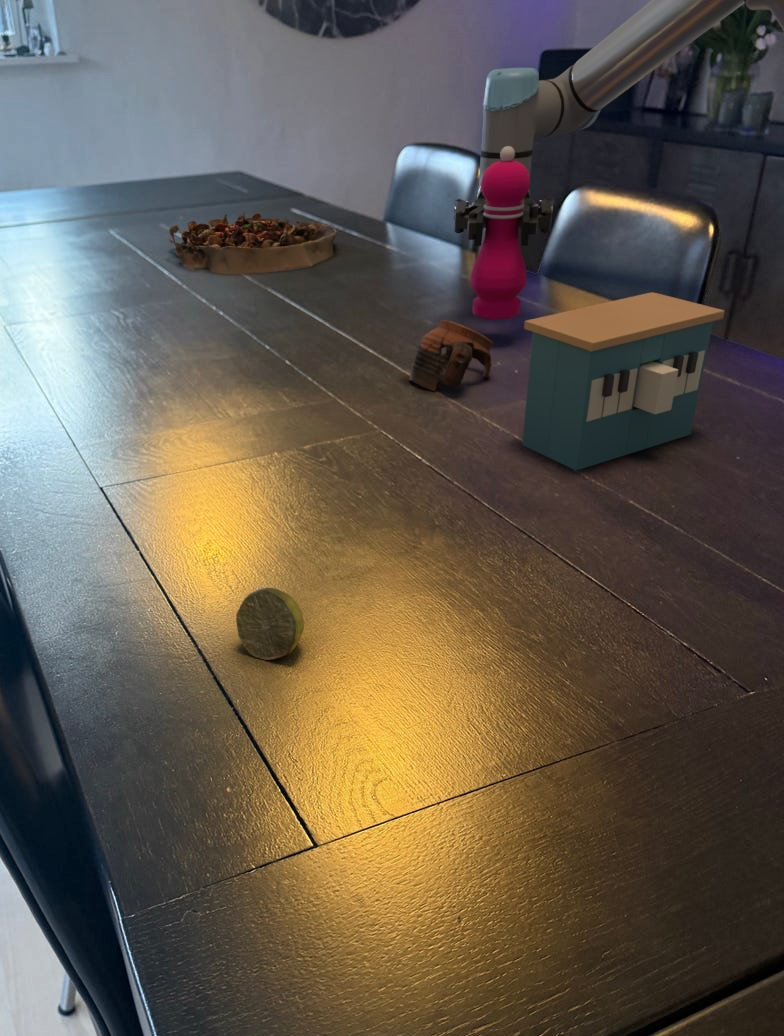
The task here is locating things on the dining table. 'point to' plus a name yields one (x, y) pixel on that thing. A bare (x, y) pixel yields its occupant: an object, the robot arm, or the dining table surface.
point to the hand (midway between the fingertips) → (502, 234)
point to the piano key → (655, 387)
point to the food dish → (253, 245)
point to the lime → (269, 623)
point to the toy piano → (612, 376)
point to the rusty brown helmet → (449, 355)
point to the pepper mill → (501, 240)
